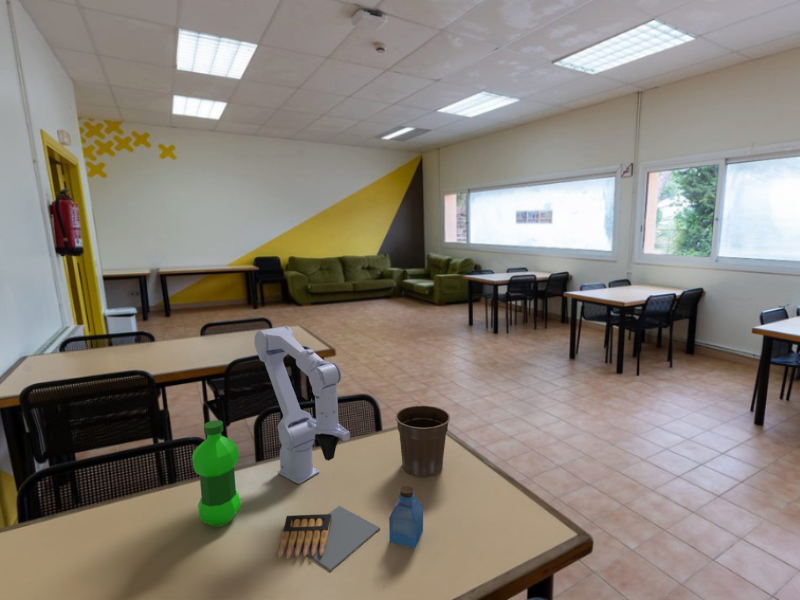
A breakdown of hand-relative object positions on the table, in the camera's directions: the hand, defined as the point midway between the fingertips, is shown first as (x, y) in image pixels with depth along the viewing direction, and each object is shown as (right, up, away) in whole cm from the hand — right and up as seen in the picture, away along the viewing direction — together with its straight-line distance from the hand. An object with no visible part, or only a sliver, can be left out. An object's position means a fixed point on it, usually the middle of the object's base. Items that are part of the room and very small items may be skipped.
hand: (329, 458), depth 114 cm
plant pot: (+26, -8, +15) cm, 31 cm away
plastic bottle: (-25, -12, -8) cm, 29 cm away
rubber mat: (+4, -13, -14) cm, 19 cm away
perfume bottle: (+20, -13, -14) cm, 28 cm away
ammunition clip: (-3, -11, -10) cm, 15 cm away
